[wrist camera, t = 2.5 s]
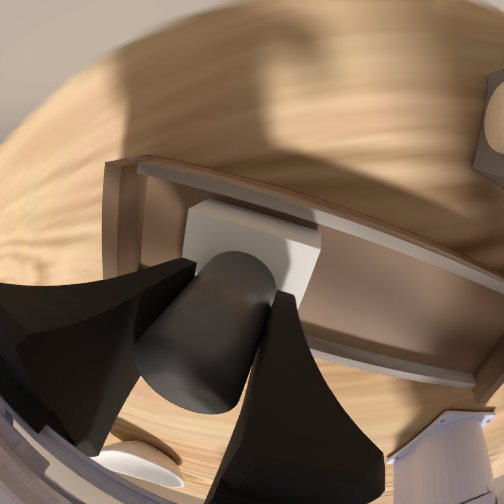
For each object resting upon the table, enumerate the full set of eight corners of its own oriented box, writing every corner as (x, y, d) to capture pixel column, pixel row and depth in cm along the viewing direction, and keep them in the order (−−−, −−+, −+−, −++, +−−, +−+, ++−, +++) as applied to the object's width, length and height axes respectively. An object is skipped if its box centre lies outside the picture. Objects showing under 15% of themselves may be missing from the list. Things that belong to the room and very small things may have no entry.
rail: (471, 368, 13) (485, 402, 10) (138, 267, 16) (104, 294, 13) (525, 285, 10) (551, 314, 7) (147, 155, 13) (105, 162, 10)
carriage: (287, 324, 13) (254, 447, 7) (193, 291, 14) (114, 388, 8) (321, 231, 11) (314, 346, 5) (208, 197, 12) (96, 263, 6)
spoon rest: (179, 446, 27) (156, 490, 20) (200, 477, 31) (184, 512, 24) (59, 392, 32) (36, 418, 26) (89, 431, 37) (71, 455, 30)
